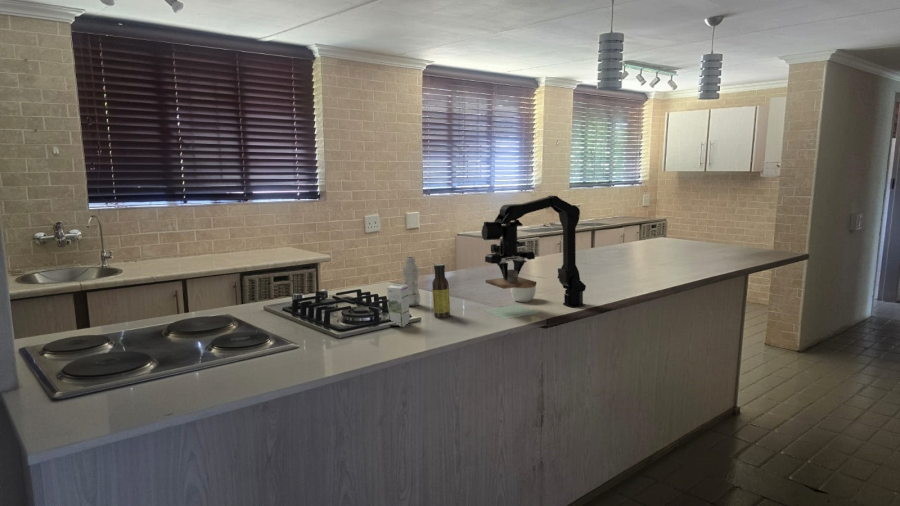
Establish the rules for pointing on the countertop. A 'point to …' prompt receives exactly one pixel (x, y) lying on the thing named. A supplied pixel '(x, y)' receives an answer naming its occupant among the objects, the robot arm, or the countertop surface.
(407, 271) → the plastic bottle
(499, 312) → the mat
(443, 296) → the sauce bottle
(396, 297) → the syrup box
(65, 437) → the countertop surface
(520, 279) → the lid
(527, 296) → the lidded jar
